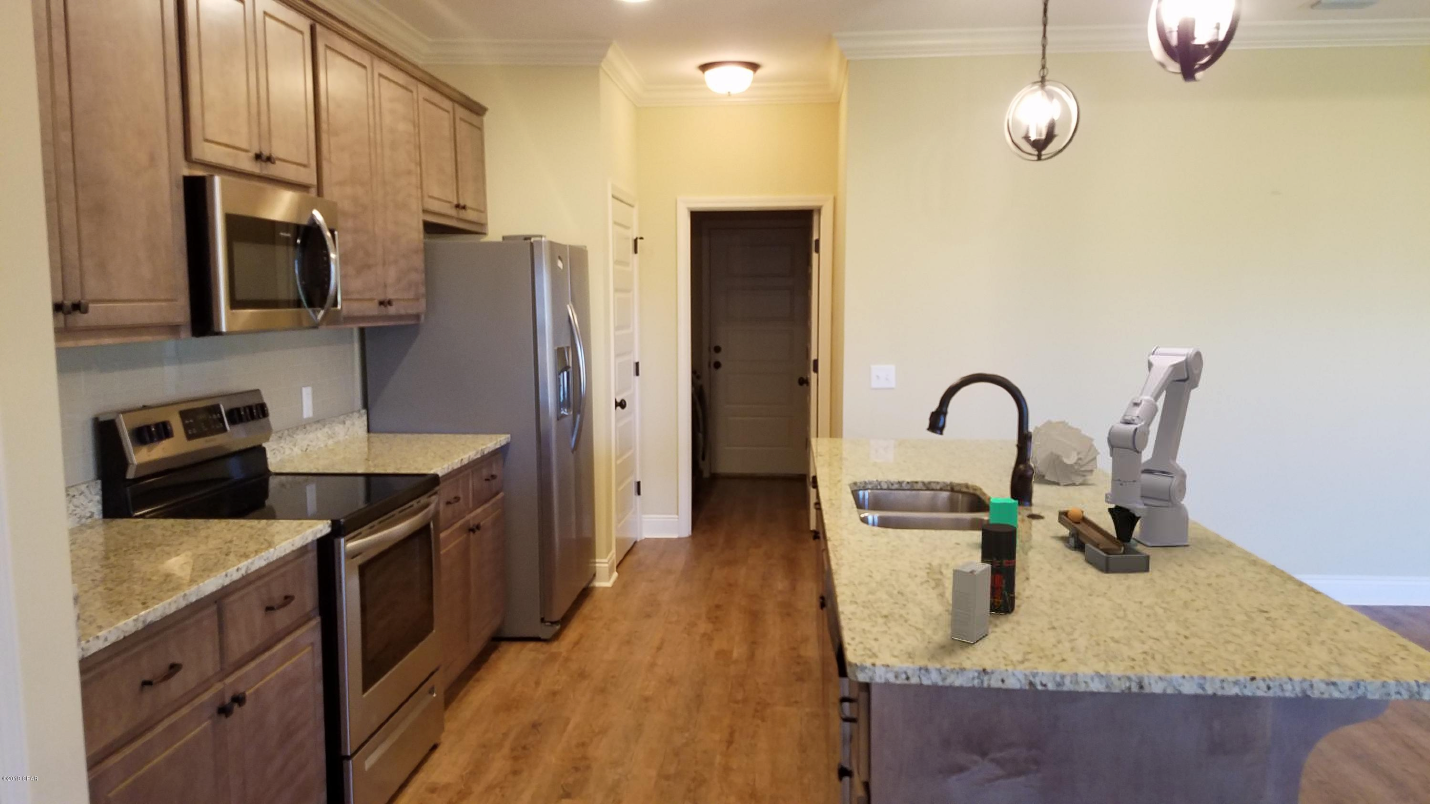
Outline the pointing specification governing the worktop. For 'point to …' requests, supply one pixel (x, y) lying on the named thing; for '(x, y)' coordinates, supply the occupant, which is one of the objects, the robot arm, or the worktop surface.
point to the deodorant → (1000, 564)
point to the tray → (1118, 559)
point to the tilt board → (1092, 533)
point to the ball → (1075, 515)
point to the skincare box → (970, 601)
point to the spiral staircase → (1063, 453)
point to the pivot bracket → (1075, 542)
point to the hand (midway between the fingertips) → (1123, 541)
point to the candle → (1004, 511)
